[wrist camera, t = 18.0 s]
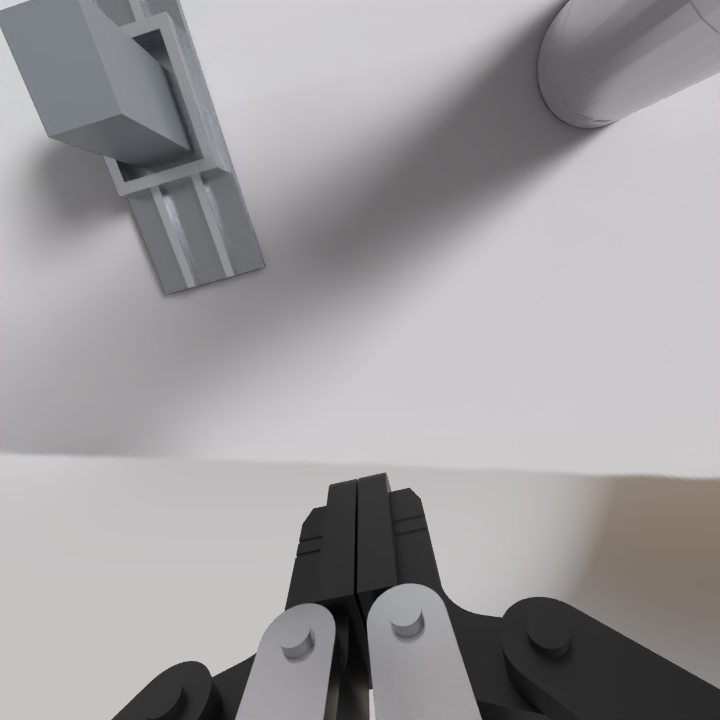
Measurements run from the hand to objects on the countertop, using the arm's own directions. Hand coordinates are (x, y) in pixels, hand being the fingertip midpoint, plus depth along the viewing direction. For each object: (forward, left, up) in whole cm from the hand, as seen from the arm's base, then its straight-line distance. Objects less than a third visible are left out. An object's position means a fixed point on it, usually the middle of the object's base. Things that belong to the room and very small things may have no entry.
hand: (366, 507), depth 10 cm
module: (-10, -21, -26) cm, 35 cm away
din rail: (-10, -21, -27) cm, 35 cm away
